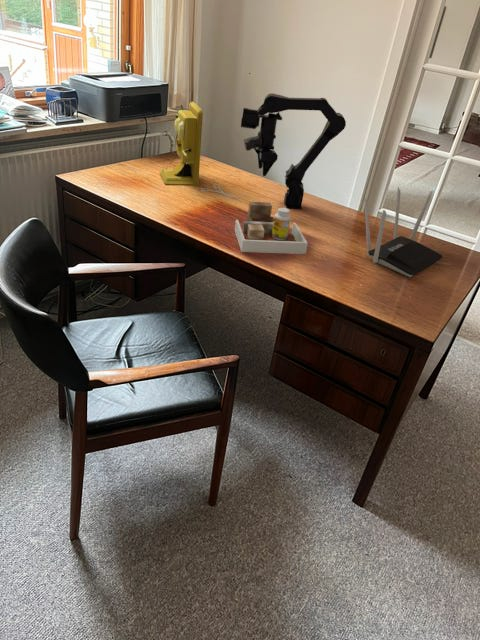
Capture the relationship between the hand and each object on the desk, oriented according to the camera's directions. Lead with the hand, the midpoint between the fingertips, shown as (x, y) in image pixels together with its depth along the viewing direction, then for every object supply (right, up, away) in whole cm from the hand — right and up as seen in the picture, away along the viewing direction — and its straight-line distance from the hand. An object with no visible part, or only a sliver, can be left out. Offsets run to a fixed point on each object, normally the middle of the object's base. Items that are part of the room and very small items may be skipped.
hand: (262, 172), depth 188 cm
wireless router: (+45, -37, -24) cm, 63 cm away
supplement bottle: (+5, -30, -21) cm, 36 cm away
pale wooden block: (-3, -29, -22) cm, 37 cm away
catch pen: (+1, -31, -25) cm, 40 cm away
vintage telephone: (-36, +3, +20) cm, 41 cm away
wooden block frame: (-1, -23, -13) cm, 27 cm away
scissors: (-16, -6, +10) cm, 20 cm away
